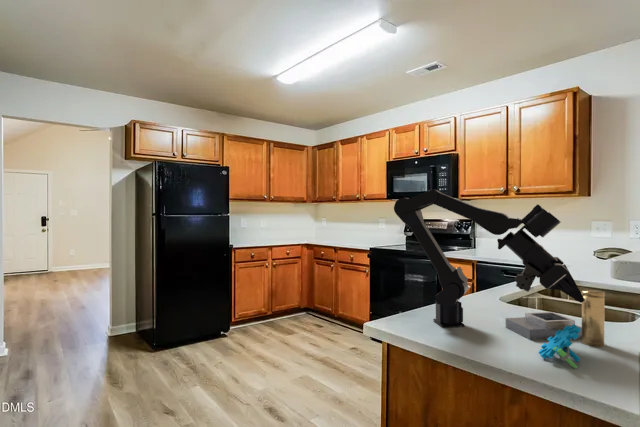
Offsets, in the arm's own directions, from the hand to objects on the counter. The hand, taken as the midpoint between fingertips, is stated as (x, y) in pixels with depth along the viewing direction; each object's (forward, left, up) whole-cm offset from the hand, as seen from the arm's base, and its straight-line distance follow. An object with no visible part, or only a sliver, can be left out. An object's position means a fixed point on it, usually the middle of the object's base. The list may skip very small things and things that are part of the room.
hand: (580, 297), depth 91 cm
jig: (-4, +8, -11) cm, 14 cm away
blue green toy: (-13, -9, -11) cm, 19 cm away
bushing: (+2, -1, -11) cm, 11 cm away
